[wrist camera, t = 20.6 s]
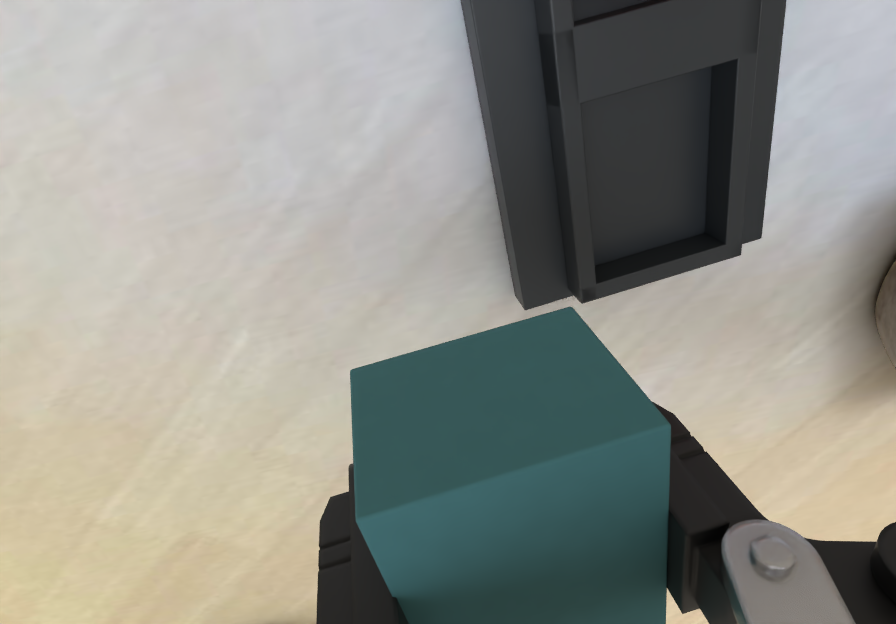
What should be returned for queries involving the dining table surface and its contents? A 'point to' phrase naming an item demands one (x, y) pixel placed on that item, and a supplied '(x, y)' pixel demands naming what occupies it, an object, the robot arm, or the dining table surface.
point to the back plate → (624, 135)
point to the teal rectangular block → (514, 479)
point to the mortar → (887, 313)
